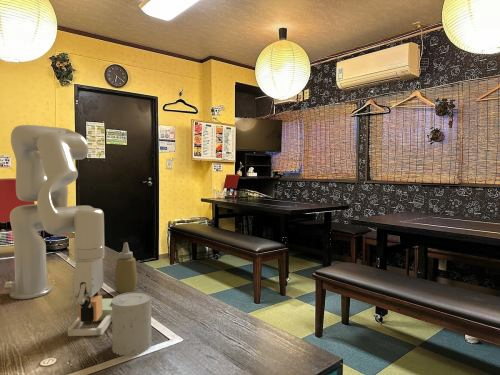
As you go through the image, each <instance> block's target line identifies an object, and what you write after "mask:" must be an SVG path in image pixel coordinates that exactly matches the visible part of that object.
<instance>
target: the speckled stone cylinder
mask: <svg viewBox="0 0 500 375" xmlns="http://www.w3.org/2000/svg"><path fill="white" fill-rule="evenodd" d="M111 299H112V321H111V324H112V325H111V328H112V329H111V332H112V337H111V338H112V339H111V340H112V344H111V345H112V347H111V350H112V352H113V353H114V354H115V353H116V354H115V355H118V354H119V355H118V356H122V355H131V356H133V355H132V354H136V355H138V354H137V353H139V354H141V352H142V353H144V352H146V351H147V350H149V349H150V348H151V346H152V343H153V342H152V294H150V293H148V292H145V291H144V292H143V291H134V292H128V293H123V294H120V293H119V294H117V295H116V296H114V297H113V298H111ZM145 350H146V351H145ZM143 351H144V352H143Z"/></svg>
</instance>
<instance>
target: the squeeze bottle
mask: <svg viewBox="0 0 500 375" xmlns="http://www.w3.org/2000/svg"><path fill="white" fill-rule="evenodd" d="M118 257H119V258H117V259H116V261H115V262H116V264H115V271H114V274H115V275H114V287H115V288H116V290H117V291H116V292H117V293H118V294H119V295H120V294H123V293H128V292H136V291H135V290H136V288H137V285H138V281H139V280H138V274H137V273H138V271H137V262H136V258H135V257H134V255H133V251H130V246H129V244H128V242H123V247H122V251H121V252H119V253H118Z"/></svg>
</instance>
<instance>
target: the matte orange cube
mask: <svg viewBox="0 0 500 375" xmlns="http://www.w3.org/2000/svg"><path fill="white" fill-rule="evenodd" d="M85 299H86V300H88V302H89V298H85ZM102 299H103V295H101V296H93V299H92V306H93V311H94V320H93V321H92V322H98V321H97V320H98V319H99V318H100V317H101V315H102ZM78 315H79V316H78V317H79V322H81V308H80V304H79V303H78Z"/></svg>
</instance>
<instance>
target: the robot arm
mask: <svg viewBox="0 0 500 375" xmlns="http://www.w3.org/2000/svg"><path fill="white" fill-rule="evenodd" d="M10 144H11V145H10V146H11V149H12V151H13V153H14V154H13V155H14V158H15V193H16V194H15V195H16V197H17V199H18V200H20V201H23V202H37V203H35V204H24V205H19V206H16V207H14V208H13V209H12V210H11V211H10V213H9V222H10V226H11V231H12V236H13V237H12V238H13V252H14V253H13V255H14V256H13V257H14V260H13V262H14V281H6V282H5V283H4V285H3V288H4V289H5V290H8V289H11V291H10V293H9V297H10V298H11V299H15V300H29V299H35V298H39V297H42V296H45V295H48V294H49V293H51V292H52V291H53V290H52V289H53V287H52V285H50V284H48V283H47V281H48V278H47V274H48V273H47V245H46V241H45V239H44V238H43V237H42V236H41V235H40V234H39V232H42V231H45V232H46V233H48V234H49V235H64V234H69V233H73V234H74V261H75V266H74V272H73V274H74V275H73V297H74V298H77V303H78V305H79V304H80V308H81V322H84V323H87V322H88V323H89V322H94V321H93V320H94V311H93V306H92V299H93V296H102V295H101V289H102V287H103V286H104V262H103V259H104V258H105V256H106V255H105V213H104V211H103V209H101V208H95V207H93V206H91V205H69V206H68V196H69V195H68V194H69V191H68V190H69V188H68V185H71V184H72V183H74V182H75V181H76V180H77V179H78V176H79V175H78V174H79V172H78V169H77V167H76V164H75V160H76V161H77V160H84V159H85V158H87V156H88V154H89V144H88V142H87V140H86V138H85V137H84V136H83V135H82V134H81V133H78V132H77V131H73V130H71V129H69V128H63V127H54V126H45V125H37V124H35V125H34V124H33V125H32V124H21V125H17V126H14V128H13V129H12V131H11V133H10ZM87 294H88V295H87ZM85 298H89V302H88V300H86V299H85Z"/></svg>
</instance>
